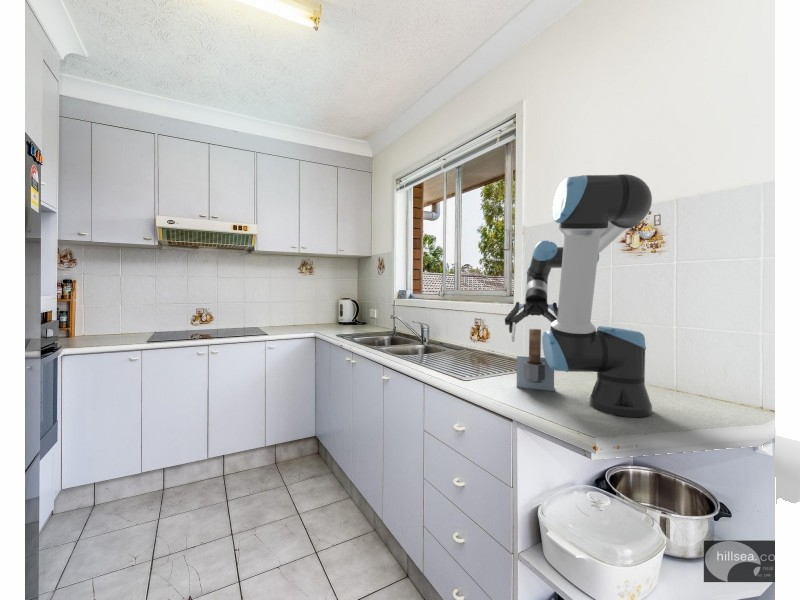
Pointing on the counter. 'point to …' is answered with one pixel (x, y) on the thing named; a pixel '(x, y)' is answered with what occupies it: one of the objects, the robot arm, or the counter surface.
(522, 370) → the wall board
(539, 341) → the rail post
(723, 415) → the counter surface
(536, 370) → the cup bracket
